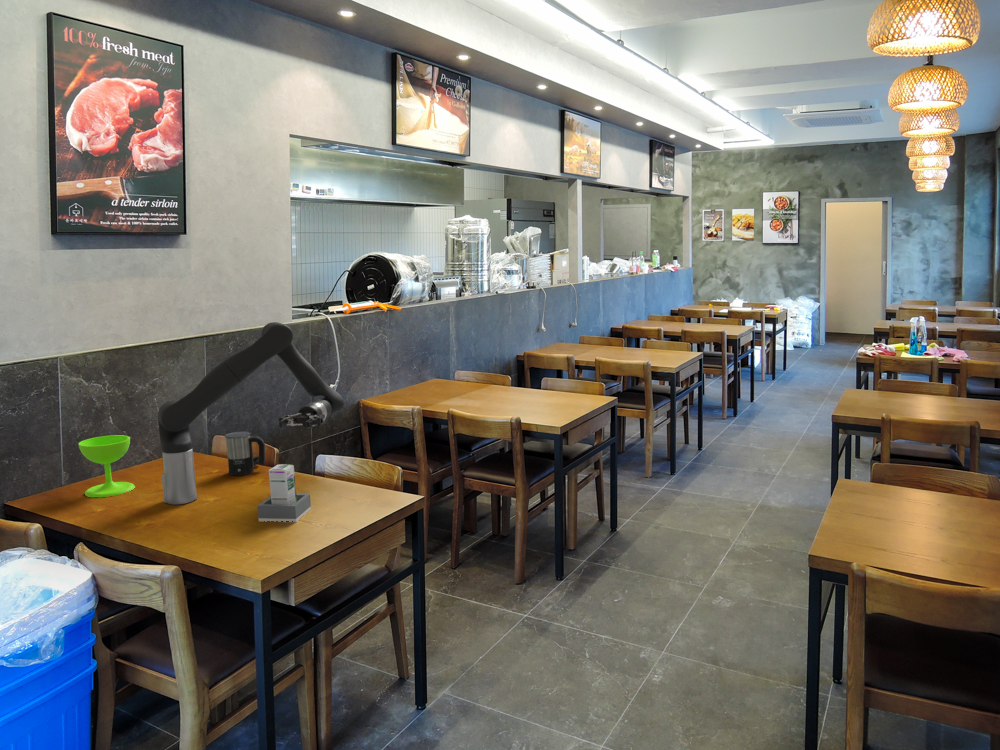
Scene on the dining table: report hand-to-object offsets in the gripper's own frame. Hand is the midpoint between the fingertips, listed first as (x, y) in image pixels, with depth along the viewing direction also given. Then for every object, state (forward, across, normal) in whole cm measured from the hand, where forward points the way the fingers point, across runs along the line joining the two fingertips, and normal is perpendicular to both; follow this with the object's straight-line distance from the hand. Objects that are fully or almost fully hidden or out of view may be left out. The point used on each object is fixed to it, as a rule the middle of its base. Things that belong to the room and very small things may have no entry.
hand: (293, 424), depth 242 cm
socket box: (+11, 0, +26) cm, 28 cm away
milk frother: (-38, -36, +26) cm, 59 cm away
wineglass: (-10, -73, +26) cm, 78 cm away
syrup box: (+11, 0, +25) cm, 28 cm away
